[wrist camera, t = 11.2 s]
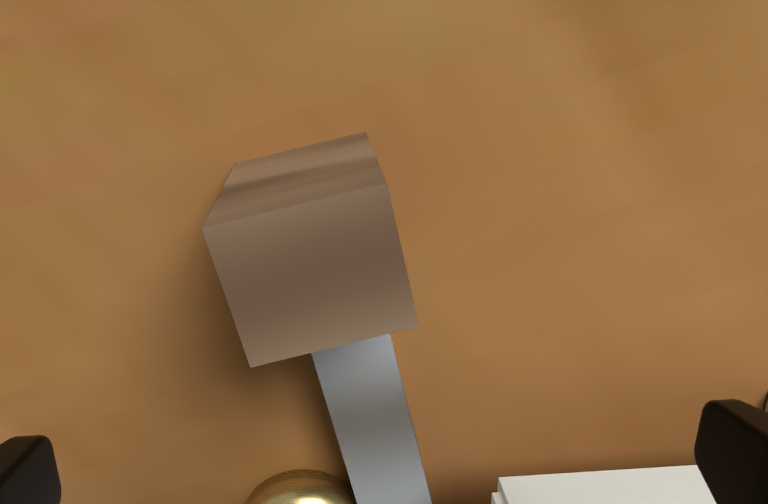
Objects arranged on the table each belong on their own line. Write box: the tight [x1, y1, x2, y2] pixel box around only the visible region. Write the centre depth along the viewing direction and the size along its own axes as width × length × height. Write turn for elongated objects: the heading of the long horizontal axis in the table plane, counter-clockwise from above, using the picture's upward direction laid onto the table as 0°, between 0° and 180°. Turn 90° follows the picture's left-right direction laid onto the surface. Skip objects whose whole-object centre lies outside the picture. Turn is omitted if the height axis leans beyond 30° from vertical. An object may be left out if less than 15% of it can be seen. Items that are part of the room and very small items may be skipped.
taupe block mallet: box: [201, 132, 432, 504], centre depth 19 cm, size 16×4×6 cm, turn 13°
